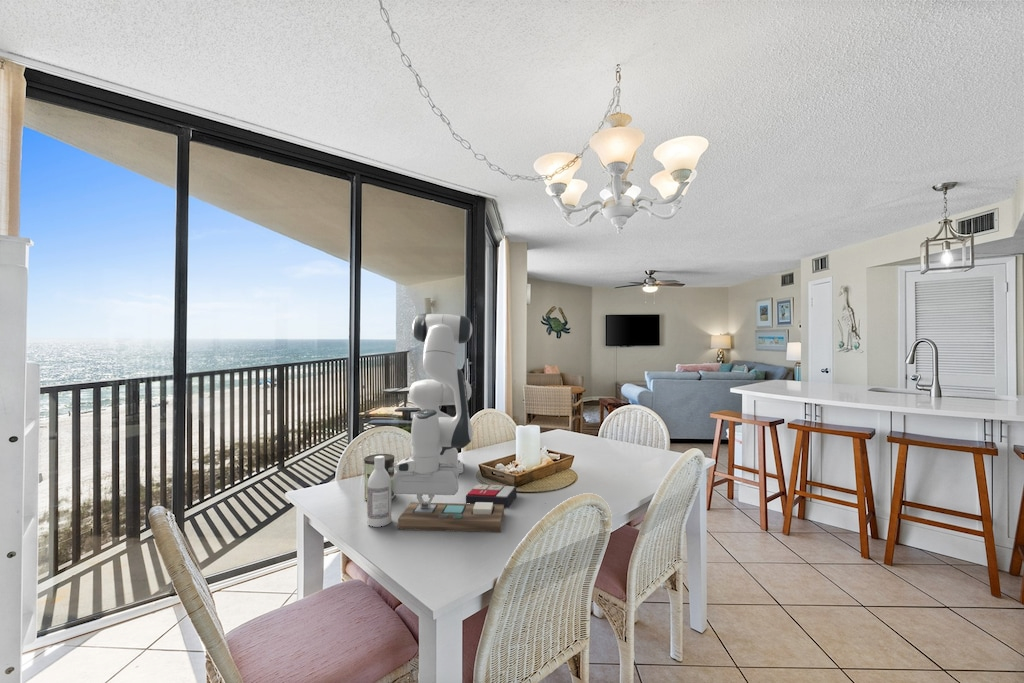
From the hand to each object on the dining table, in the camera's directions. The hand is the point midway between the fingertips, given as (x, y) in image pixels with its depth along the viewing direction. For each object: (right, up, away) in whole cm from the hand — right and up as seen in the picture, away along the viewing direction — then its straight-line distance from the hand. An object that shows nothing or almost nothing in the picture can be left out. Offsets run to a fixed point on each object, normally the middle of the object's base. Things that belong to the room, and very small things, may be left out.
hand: (425, 508), depth 134 cm
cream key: (+18, -1, -1) cm, 18 cm away
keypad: (+9, -3, -2) cm, 10 cm away
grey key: (0, -2, 0) cm, 2 cm away
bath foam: (-13, -4, -3) cm, 14 cm away
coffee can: (-20, -4, +18) cm, 27 cm away
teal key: (+9, -2, 0) cm, 9 cm away
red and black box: (+20, -4, +16) cm, 26 cm away
